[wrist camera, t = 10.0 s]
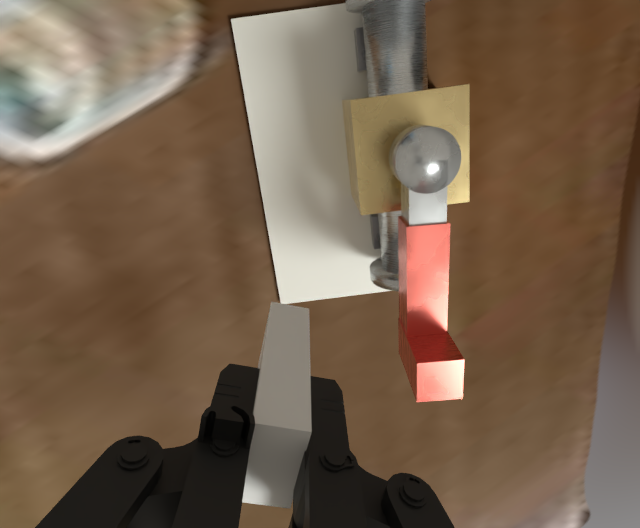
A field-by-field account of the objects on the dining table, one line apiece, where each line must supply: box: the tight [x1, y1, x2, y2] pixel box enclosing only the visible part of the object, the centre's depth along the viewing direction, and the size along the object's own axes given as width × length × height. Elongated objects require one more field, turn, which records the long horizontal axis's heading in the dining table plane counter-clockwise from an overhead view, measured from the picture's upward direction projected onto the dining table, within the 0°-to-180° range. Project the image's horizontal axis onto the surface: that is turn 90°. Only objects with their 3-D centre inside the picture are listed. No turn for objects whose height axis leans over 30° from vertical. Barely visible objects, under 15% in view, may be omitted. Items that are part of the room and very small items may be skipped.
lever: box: [389, 125, 464, 402], centre depth 28 cm, size 17×4×6 cm, turn 4°
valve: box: [342, 0, 469, 291], centre depth 33 cm, size 22×8×10 cm, turn 7°
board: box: [231, 3, 392, 304], centre depth 38 cm, size 25×15×1 cm, turn 7°
